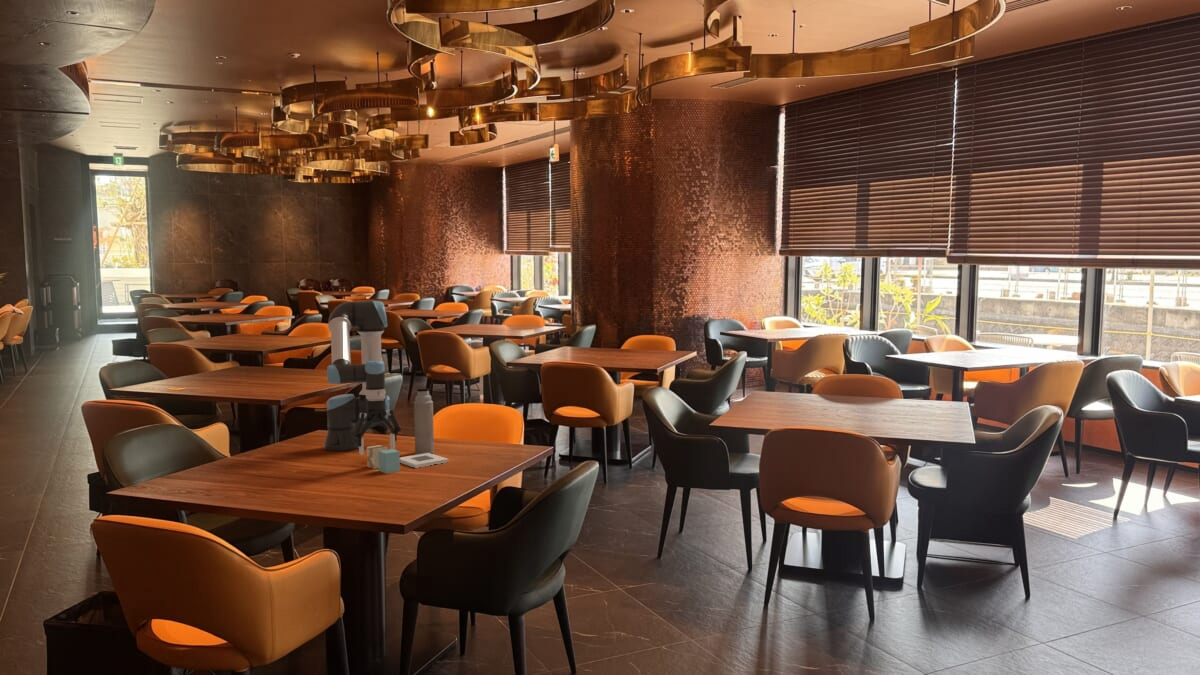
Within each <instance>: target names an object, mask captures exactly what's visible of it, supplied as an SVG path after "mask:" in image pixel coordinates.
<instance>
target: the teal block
mask: <svg viewBox="0 0 1200 675" xmlns="http://www.w3.org/2000/svg"><path fill="white" fill-rule="evenodd" d="M400 452H401V451H400V450H397V449H395V450H394V449H390V448H388V450H382V451H378V455H379V468H378V472H381V473H384V474H392V473H397V472H400V471H401V463H400V456H401V455H400V454H401V453H400Z"/></svg>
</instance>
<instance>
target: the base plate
mask: <svg viewBox="0 0 1200 675" xmlns="http://www.w3.org/2000/svg"><path fill="white" fill-rule="evenodd" d="M447 462H449V458H446V457H443V456H440V455H438V454H434V453H433V454H431V453H424V454H414V455H407V456H401V457H400V464H403V465H405V466H408V467H411V468H413V467H414V468H415V469H419V467H421V468H426V467H431V466H430V465H432V466H435V465H434V464H438V465H442V464H441V463H443V464H448V463H447ZM425 466H426V467H425ZM414 468H413V469H414Z"/></svg>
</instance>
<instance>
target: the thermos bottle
mask: <svg viewBox="0 0 1200 675" xmlns="http://www.w3.org/2000/svg"><path fill="white" fill-rule="evenodd" d="M429 390H430V389H429V388H426V387H422V388H421V387H420V388H417V389H416V391H417V395H416V396H415V399H414V400H415V401H414V402H413V412H414V413H413V416H414V417H413V418H414V419H413V420H414V421H413V422H414V451H415V452H414V453H416V454H415V455H418V454H424V453H433V452H434V453H435V438H434V437H435V434H434V431H435V430H434V429H435V428H434V401H433V400H432V396H431V394H430V391H429ZM434 453H433V454H434Z"/></svg>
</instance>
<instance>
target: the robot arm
mask: <svg viewBox="0 0 1200 675" xmlns="http://www.w3.org/2000/svg"><path fill="white" fill-rule="evenodd" d="M328 317H329V318H328V320H327V321H328V322H327V323H328V324H327V327H328V330H329V331H330V344H331V346H330V347H331V348H330V349H331V364H330V365H328V366H327V367H326V369H327V370H326V373H327V375H326V376H327V383H329V384H335V385H336V384H337V385H339V384H354V383H356V384H357V383H359V384H360V383H362V384H361V385H362V389H361V391H360V392H359V393H358V397H355V394H354V393H348V394H347V393H345V394H339V395H335V396H332V397H330V398H328V399H327V402H326V406H327V407H326V412H327V414H326V415H327V433H326V436H325V441H324V443H323V450H325V451H330V452H346V451H353V450H356V449H357V450H358V454H359V455H361V456H364V455H365V450H364V442H365V441H364V438H363V436H364V435H365V433H366V432H367V430H368V429H369V427H370V426H372V424H378V423H383V424H384V426H385V427H386V428H387V429H388V430H389V431H390V432H391V433H389V446H390V447H389V449H394V450H396V442H397V439H398V438H397V434H398V433H399V432H401V431H402V429H401V427H400V425H399V423H398V422H397V419H396V418H395V415H394V411H393V409H390V396H389V395H387V392H386V381H385V380H386V379H385V378H386V377H385V376H386V374H385V371H386V368H385V362H384V360H382V334H383V333H384V332H385V328H387V327H388V318H387V313H386V307H385V304H384V302H382V301H381V300H363V301H358V300H357V301H352V300H351V301H345V302H343V303H340V304H338V305H337V306H336V307H335V308H334V309H333V310H332V312H331V313H330V315H329V316H328ZM351 329H357V330H356V332H357V333H358V334H359V335H360V345H361V346H360V347H361V350H360V351H361V352H360V353H361V363H357V364H355V363H354V364H352V363H351V362H352V359H351V343H350V342H351V341H350V339H351V338H350V331H351ZM388 418H389V420H390V422H391V423H390V422H389V421H388Z"/></svg>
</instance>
